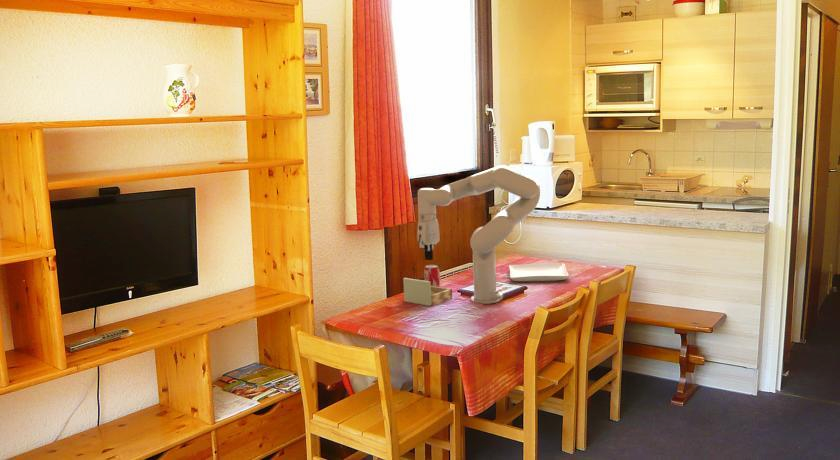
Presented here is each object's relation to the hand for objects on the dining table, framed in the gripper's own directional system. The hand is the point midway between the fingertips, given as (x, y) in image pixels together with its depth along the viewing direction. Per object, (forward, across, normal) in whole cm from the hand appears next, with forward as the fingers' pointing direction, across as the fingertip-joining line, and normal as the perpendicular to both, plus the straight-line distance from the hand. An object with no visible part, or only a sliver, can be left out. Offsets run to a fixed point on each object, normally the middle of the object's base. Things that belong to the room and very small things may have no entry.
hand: (428, 259), depth 329 cm
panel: (+17, -9, 0) cm, 20 cm away
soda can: (+18, +12, +9) cm, 24 cm away
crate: (+18, -2, 0) cm, 18 cm away
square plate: (+18, +61, -16) cm, 66 cm away
